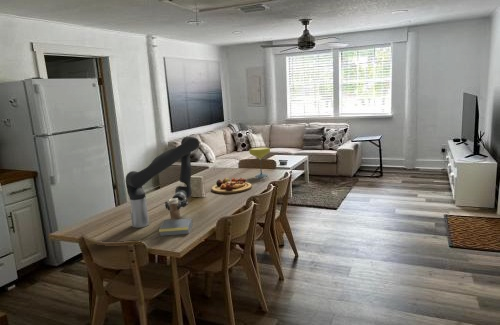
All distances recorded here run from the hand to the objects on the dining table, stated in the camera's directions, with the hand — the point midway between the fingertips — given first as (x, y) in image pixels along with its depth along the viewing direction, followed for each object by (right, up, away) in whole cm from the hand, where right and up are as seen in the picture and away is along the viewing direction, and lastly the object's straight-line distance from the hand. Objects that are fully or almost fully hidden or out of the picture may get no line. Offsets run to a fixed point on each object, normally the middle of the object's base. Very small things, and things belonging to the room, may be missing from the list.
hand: (173, 208), depth 211 cm
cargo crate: (0, -6, +4) cm, 7 cm away
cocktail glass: (+53, +14, +123) cm, 135 cm away
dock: (+1, -13, +5) cm, 14 cm away
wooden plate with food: (+28, +4, +88) cm, 93 cm away
